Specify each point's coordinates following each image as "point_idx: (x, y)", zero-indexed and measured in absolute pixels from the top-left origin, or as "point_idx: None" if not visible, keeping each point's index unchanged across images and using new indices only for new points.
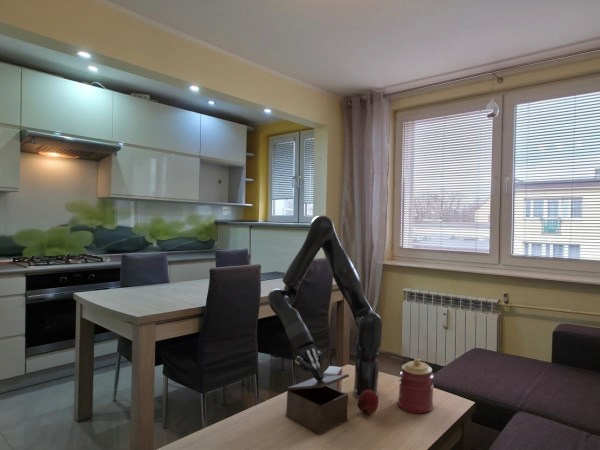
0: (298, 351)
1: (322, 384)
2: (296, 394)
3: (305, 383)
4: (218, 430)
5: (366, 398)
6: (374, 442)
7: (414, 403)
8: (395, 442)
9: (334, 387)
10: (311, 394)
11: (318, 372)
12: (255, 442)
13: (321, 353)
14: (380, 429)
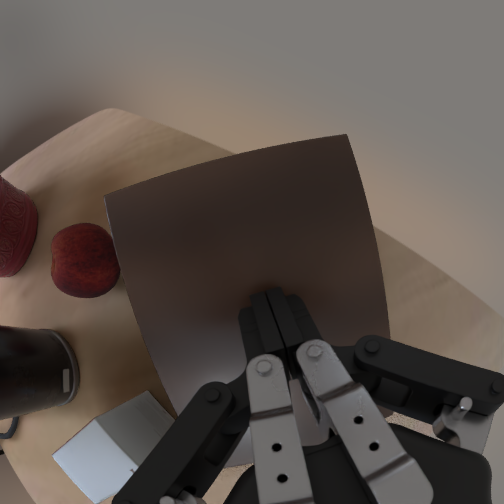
0: (489, 488)
1: (336, 138)
2: None
3: None
4: (490, 368)
5: (91, 234)
6: (190, 138)
7: (21, 195)
8: (152, 124)
9: (131, 409)
10: None
11: (286, 317)
12: (451, 281)
13: (156, 496)
14: (137, 176)
